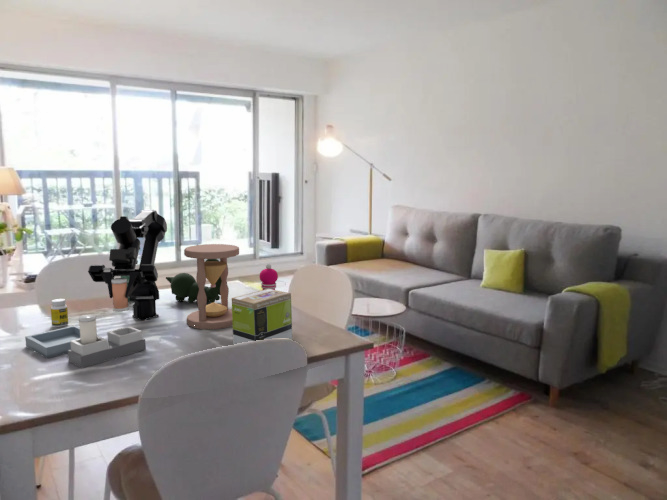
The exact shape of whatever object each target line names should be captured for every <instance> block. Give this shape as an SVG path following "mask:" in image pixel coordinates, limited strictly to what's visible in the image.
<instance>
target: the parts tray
mask: <svg viewBox="0 0 667 500" xmlns="http://www.w3.org/2000/svg"><path fill="white" fill-rule="evenodd" d="M97 336H99V335H98V334H97ZM24 338H25V347H26V348H28V349H29V350H31V351H33V352H35V353H36V354H38V355H41V357H43V358H45V359H51V358H54V357H57V356H61V355H65V354H68V350H71V342H70V341H72V340H76V339H80V328H79V325H71V326H64V327H60V328H57V329H54V330H48V331H45V332H40V333H34V334H29V335H27V336H25V337H24Z"/></svg>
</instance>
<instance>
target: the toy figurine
mask: <svg viewBox="0 0 667 500" xmlns="http://www.w3.org/2000/svg"><path fill="white" fill-rule="evenodd" d="M208 261H220V259H205V260H204V262H208ZM195 278H196V277H194V276H193V275H192V274H190V273H187V272H180V273H178V274H176V275H174V276H166V277H165V279H166V280H167V282H169V284H170V289H171V294H172V295H174V296H175V300H176V302H183V301H185V299H186V298H187V301H188V302H189V303H190V304H193V303H194V302H195V301H197V296H198V292H199V287H198V284H197V280H196V279H195ZM221 283H222V280H221V277H219V279H218V280H217V282H216V283H215V285H216V287H210V286H206V285H205V287H204V291H205V294H206V297H207V302H206V303H209V302H210V304H211V303H213V302H214V303H216V301H219V300H221V295H220V287H221Z"/></svg>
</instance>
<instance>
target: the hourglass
mask: <svg viewBox="0 0 667 500" xmlns="http://www.w3.org/2000/svg"><path fill="white" fill-rule="evenodd" d="M183 255H184V257H186V258H191V259H196V277H195V278H196V279H195V280H196V282H197V284H198V287H199V292H198V296H197V300H196V301H197V302H196V303H197V307H198V310H195V311H192V312H191V313H188V315H187V316H186V324H187V325H188V327H191V328H194V329H198V330H218V329H226V328H230V327H233V321H232V308H229V294H230V293H229V292H230V289H229V285H228V281H227V279H228V276H229V265H228V259H229V258H233V257H237V256H239V255H240V247H239V246H237V245H233V244H224V243H212V244H210V243H209V244H197V245H196V244H195V245H190V246H187V247H185V248H184V249H183ZM207 259H217V260H219V261H208V262H205V260H207ZM219 277H221V280H222V283H221V287H220V295H219V296H220V300H221V301H220V303H217V302H213V303H211V302H210V303H209V304H207V303H208V302H207V297H206V294H205V291H204V287H205V286H206V281H208V283H210V286H209V287H216V285H215V283H216V282H217V280H218V279H219ZM194 325H195V326H194Z"/></svg>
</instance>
